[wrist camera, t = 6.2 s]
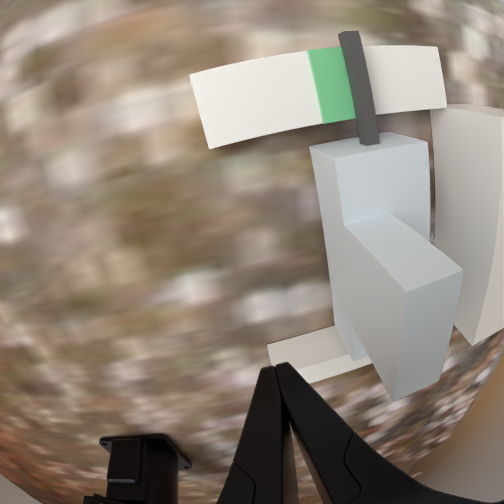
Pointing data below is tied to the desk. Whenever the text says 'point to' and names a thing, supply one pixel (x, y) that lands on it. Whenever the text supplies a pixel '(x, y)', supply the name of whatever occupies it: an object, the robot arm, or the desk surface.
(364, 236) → the gauge plunger
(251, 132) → the gauge housing
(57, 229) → the desk surface
